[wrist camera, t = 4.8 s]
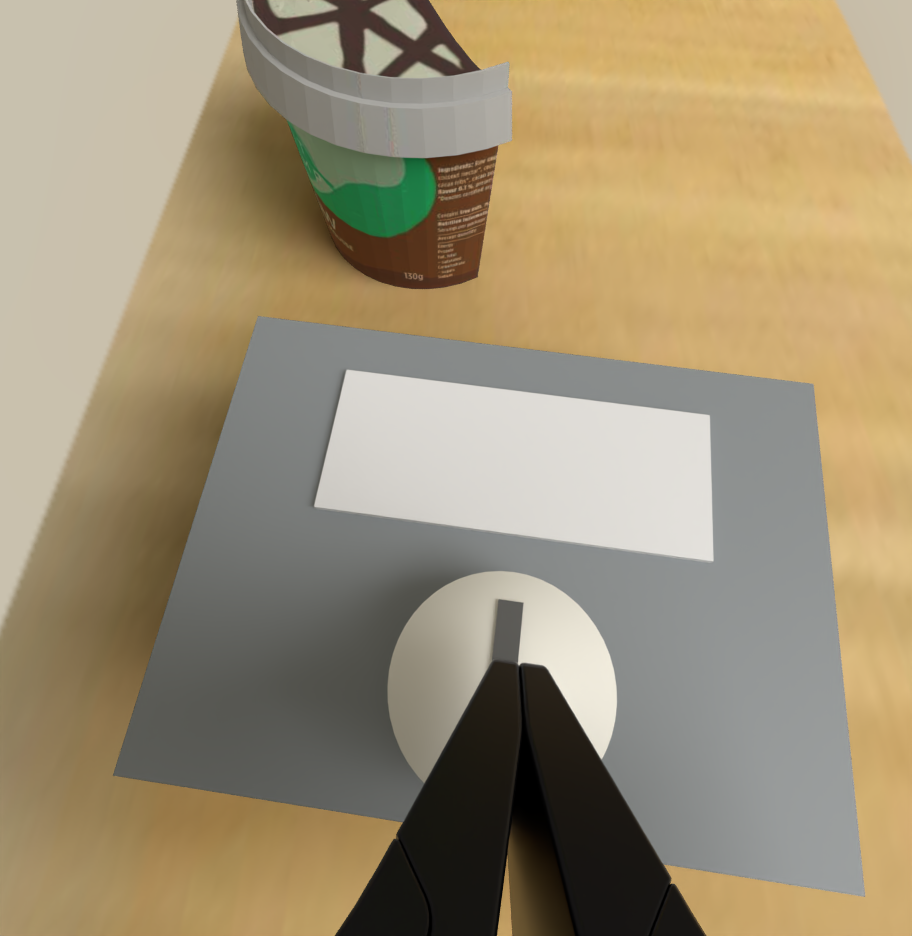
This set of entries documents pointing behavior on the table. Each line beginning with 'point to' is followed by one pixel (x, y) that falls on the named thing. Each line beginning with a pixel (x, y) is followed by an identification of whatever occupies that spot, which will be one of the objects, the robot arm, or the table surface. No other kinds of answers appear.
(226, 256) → the table surface
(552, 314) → the table surface
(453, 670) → the knob
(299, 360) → the console
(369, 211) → the food container
